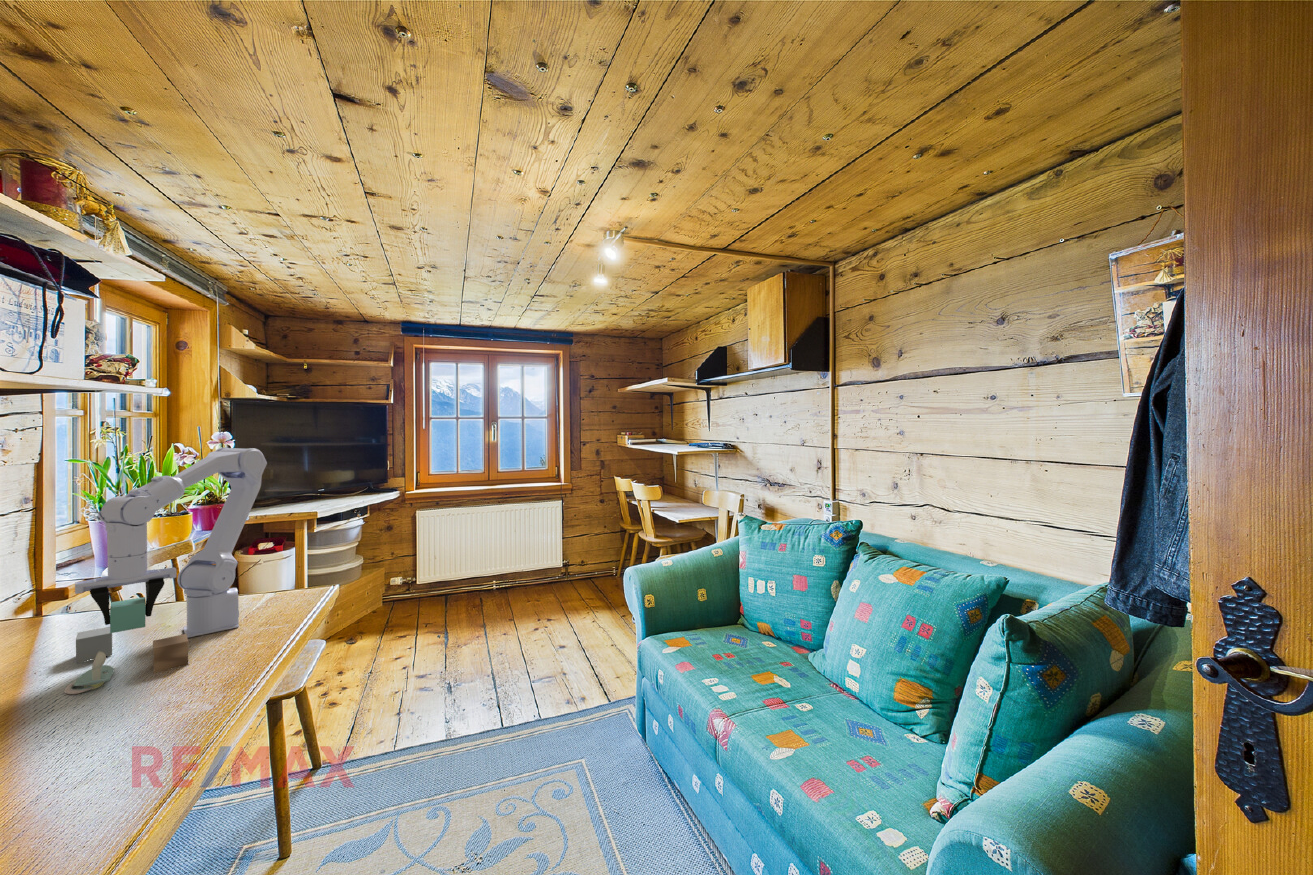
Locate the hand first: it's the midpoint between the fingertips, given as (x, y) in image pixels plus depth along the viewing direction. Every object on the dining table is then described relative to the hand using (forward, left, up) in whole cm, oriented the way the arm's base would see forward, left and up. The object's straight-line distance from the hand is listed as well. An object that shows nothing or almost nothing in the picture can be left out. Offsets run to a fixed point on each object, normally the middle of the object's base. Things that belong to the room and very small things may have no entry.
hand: (128, 619), depth 106 cm
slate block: (+5, -7, -8) cm, 12 cm away
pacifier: (+5, +10, -9) cm, 14 cm away
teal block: (0, 0, -2) cm, 2 cm away
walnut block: (-6, +9, -8) cm, 14 cm away
